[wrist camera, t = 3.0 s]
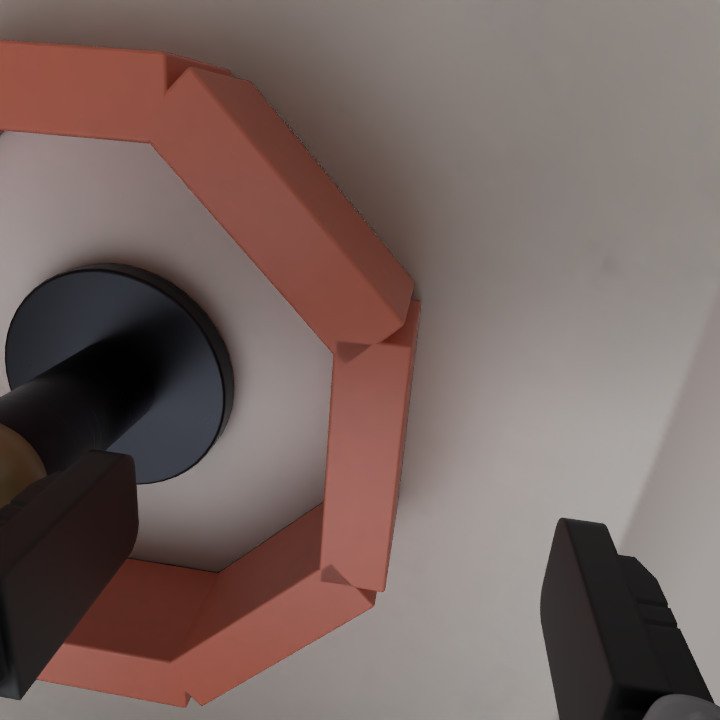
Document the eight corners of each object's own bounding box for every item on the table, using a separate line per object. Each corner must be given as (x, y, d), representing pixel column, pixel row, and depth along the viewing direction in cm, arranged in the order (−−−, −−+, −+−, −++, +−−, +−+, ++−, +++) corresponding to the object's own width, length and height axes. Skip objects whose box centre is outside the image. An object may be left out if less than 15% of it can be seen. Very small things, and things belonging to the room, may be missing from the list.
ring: (-81, 560, 21) (-181, 639, 18) (-196, 37, 16) (-373, 12, 12) (381, 639, 20) (367, 744, 16) (447, 86, 14) (444, 71, 10)
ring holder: (152, 220, 16) (-73, 285, 9) (276, 424, 17) (162, 610, 11) (-21, 323, 18) (-316, 441, 11) (105, 500, 19) (-83, 699, 12)
